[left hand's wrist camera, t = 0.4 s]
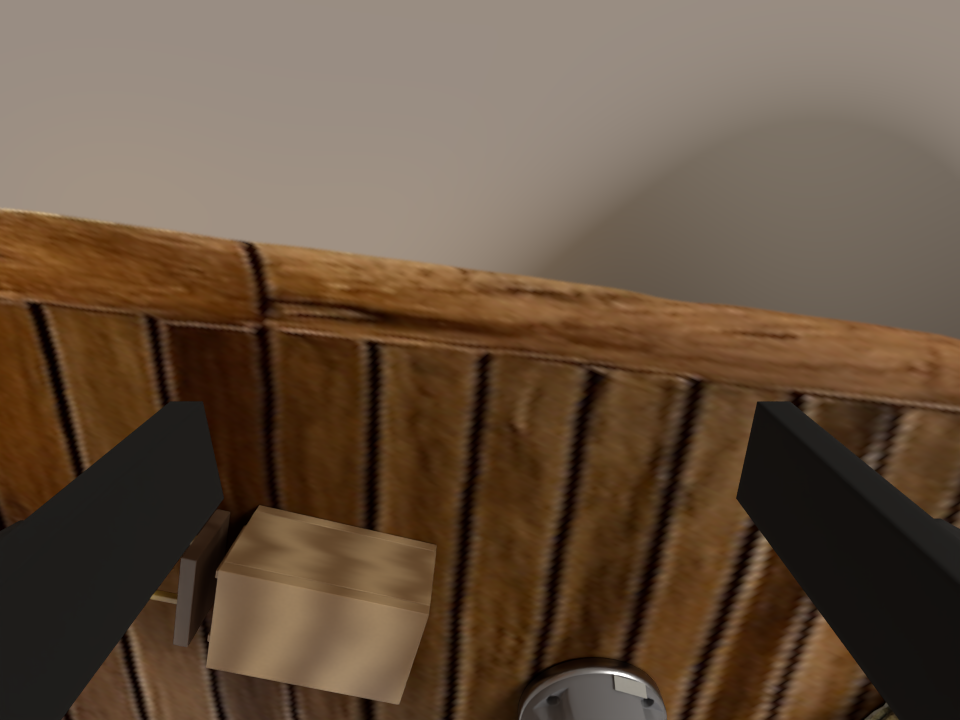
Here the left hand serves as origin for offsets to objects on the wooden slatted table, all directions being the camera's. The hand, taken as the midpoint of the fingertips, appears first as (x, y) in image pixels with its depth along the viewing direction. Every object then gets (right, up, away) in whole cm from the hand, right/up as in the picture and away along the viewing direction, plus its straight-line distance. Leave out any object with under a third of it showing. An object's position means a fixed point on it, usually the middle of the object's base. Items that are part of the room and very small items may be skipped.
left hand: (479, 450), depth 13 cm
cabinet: (-13, -17, +36) cm, 43 cm away
